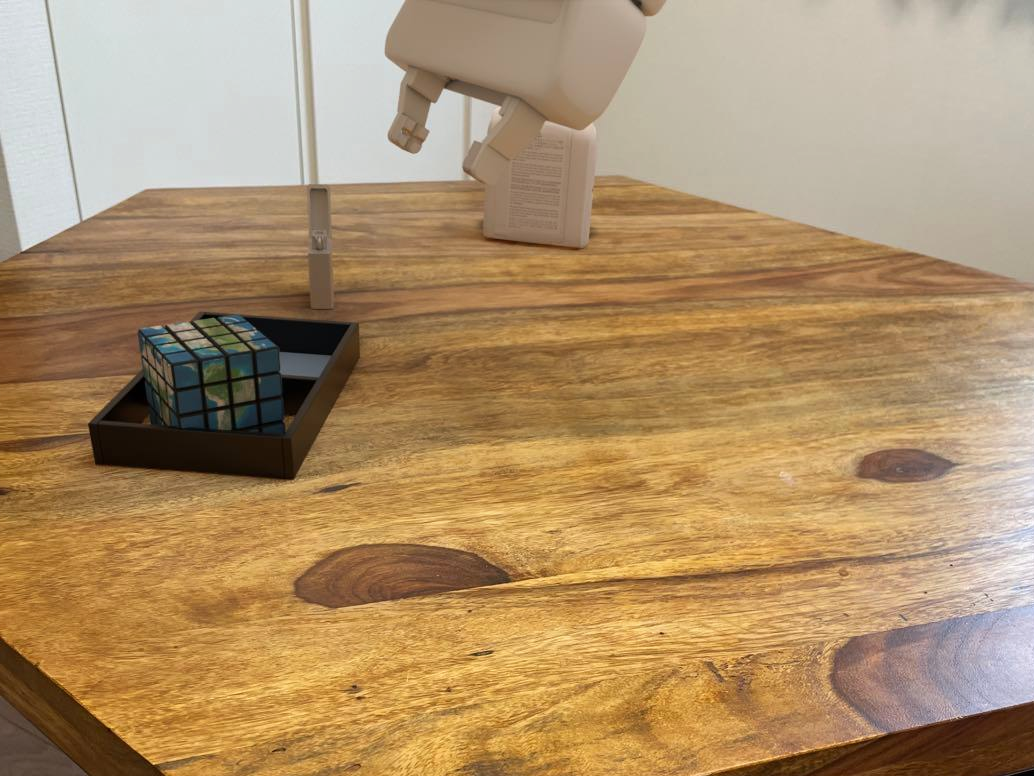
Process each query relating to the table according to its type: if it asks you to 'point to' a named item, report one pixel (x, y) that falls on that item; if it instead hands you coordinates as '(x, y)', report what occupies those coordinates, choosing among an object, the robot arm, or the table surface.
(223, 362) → the puzzle
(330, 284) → the lighter
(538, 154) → the photo printer
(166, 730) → the table surface
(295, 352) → the frame
